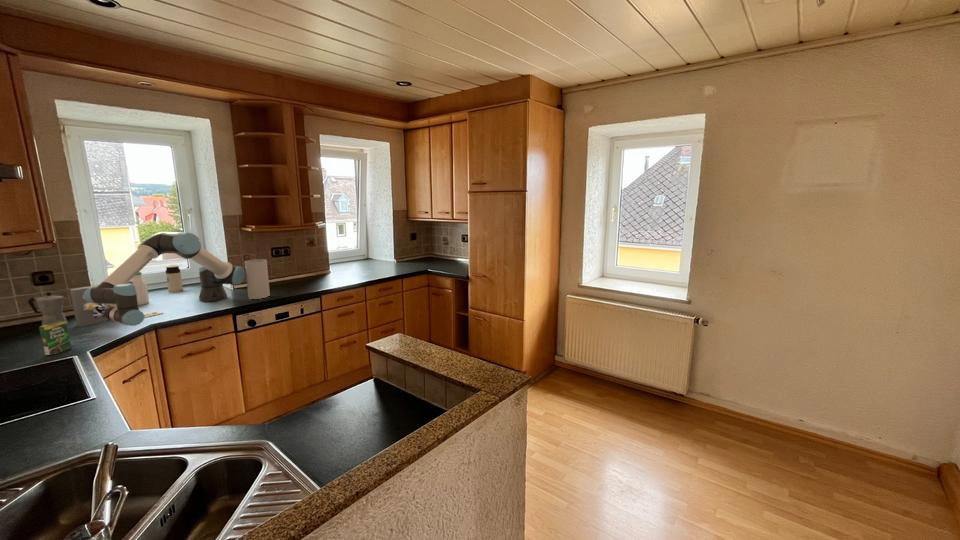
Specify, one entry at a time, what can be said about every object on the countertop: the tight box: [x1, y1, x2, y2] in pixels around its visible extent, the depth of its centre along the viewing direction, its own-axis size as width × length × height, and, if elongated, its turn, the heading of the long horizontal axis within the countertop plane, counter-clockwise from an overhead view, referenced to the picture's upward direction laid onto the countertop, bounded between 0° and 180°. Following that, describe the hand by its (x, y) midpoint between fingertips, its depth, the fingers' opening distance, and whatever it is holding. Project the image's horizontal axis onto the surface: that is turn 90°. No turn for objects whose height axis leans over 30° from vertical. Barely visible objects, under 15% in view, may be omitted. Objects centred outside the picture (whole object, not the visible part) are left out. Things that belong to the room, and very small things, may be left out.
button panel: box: [69, 280, 133, 328], centre depth 205 cm, size 4×24×19 cm, turn 155°
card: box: [143, 311, 164, 319], centre depth 215 cm, size 6×11×1 cm, turn 155°
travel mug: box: [165, 264, 184, 293], centre depth 268 cm, size 8×8×18 cm
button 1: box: [82, 302, 99, 311], centre depth 197 cm, size 7×4×4 cm, turn 66°
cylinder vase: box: [244, 258, 271, 300], centre depth 254 cm, size 12×12×25 cm
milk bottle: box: [131, 271, 150, 306], centre depth 236 cm, size 8×8×20 cm
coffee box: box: [38, 321, 73, 356], centre depth 163 cm, size 8×3×13 cm, turn 171°
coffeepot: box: [27, 291, 69, 326], centre depth 194 cm, size 15×9×18 cm, turn 104°
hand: (93, 307), depth 195 cm, fingers closed
